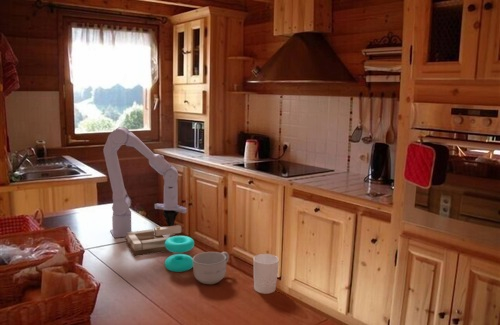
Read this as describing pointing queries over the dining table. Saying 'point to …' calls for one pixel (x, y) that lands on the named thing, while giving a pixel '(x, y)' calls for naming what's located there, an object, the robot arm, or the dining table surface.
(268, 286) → the white cup
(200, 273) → the teacup
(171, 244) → the donuts
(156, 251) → the stool seat
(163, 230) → the hinged leg
